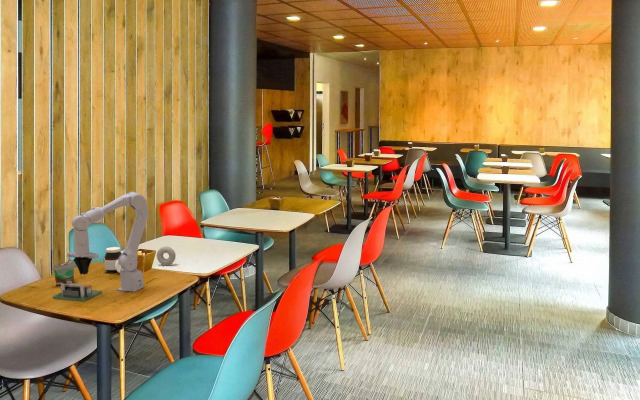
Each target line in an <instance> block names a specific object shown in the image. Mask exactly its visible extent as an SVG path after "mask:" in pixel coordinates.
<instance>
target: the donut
mask: <svg viewBox="0 0 640 400" xmlns="http://www.w3.org/2000/svg"><path fill="white" fill-rule="evenodd" d="M164 254H168V257H167V258H165V257H164ZM156 259H157V261H158V263H159V264H161V265H163V266H169V265H172V264H173V263H174V262H175V260H176V252H175V249H173V248H172V247H170V246H162V247H160V248H159V249H158V250H157V252H156Z"/></svg>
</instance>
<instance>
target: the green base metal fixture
mask: <svg viewBox="0 0 640 400" xmlns="http://www.w3.org/2000/svg"><path fill="white" fill-rule="evenodd" d="M67 283H69V284H73V283H72V281H67ZM60 291H61V292H59V293H57V294H55V295H53V296H52V299H54V300H55V299H56V300H67V301H74V302H75V301H76V302H86V301H88V300H91V299H93V298H95V297H97V296H99V295H101V294H103V291H102V290H94V289H93V286H92V285H91V287H89V288H84V286H81V287H66V284H61V286H60Z"/></svg>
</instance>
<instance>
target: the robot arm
mask: <svg viewBox="0 0 640 400" xmlns="http://www.w3.org/2000/svg"><path fill="white" fill-rule="evenodd" d="M121 207H131V209H133V211H134V213H135V214H136V215H135V218H134V222H133V225H132V227H131V231H130V234H129V237H128V240H127V243H126V247H124V249H123V252H121V253H122V254H121V256H120V257H119V259H118V262H119V264H120V265H121V268H120V273H119V277H120V287H118V288H116V290H117V291H123V292H137V291H140V290H141V289H143V288H145V287H146V286H145V284H144V274H143V271H142V270H140V269H137V267H138V258H139V257H138V256H139V254H138V253H139V251H138V250H139V247H140V244H141V241H142V237H143V234H144V231H145V228H146V224H147V221H148V218H149V216H150V215H149V214H150V212H149V208H148V203H147V199H146V197H145V196H144V195H143V194H141V193H137V192H136V191H130V192H128V193H124V194H123V195H121V196H119V197H118V198H116V199H114V200H112V201H110V202H108V203H107V204H105V205H103V206H102V207H101V206H100V207H99V206H96V207H95V206H92V207H91V208H90V209H89V210H88V211H86V212H81V213H80V215H76V216H74V217H73V219H72V222H71V225H72V227H73V232H74V233H73V240H74V251H68V252H66V257H67V258H74V259H72V260H73V261H74V263H75V266H76V267H77V270H78V271H79V274H80V275H83V276H84V275H88V273H89V268H90V265H91V263H92V260H97V259H99V253H96V252H95V253H94V252H91V251H90V242H89V231H88V228H89V226H91V225H93V224H95V223H97V222H99V221H101V220H103V219H104V218H105V215H106V214H108V213H110V212H113V211H115V210H117V209H119V208H121Z"/></svg>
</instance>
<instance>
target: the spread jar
mask: <svg viewBox="0 0 640 400" xmlns="http://www.w3.org/2000/svg"><path fill="white" fill-rule="evenodd" d="M105 252H106V253H105V255H104V263H103V264H104V271H105V272H107V273H110V274H111V273H113V274H114V273H116V274H117V273H118V274H120V268H121V265H120V264H119V262H118V259H119V257H120V256H121V254H122V253H123V252H122V251H121V247H120V246H111V247H107V248H105Z"/></svg>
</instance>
